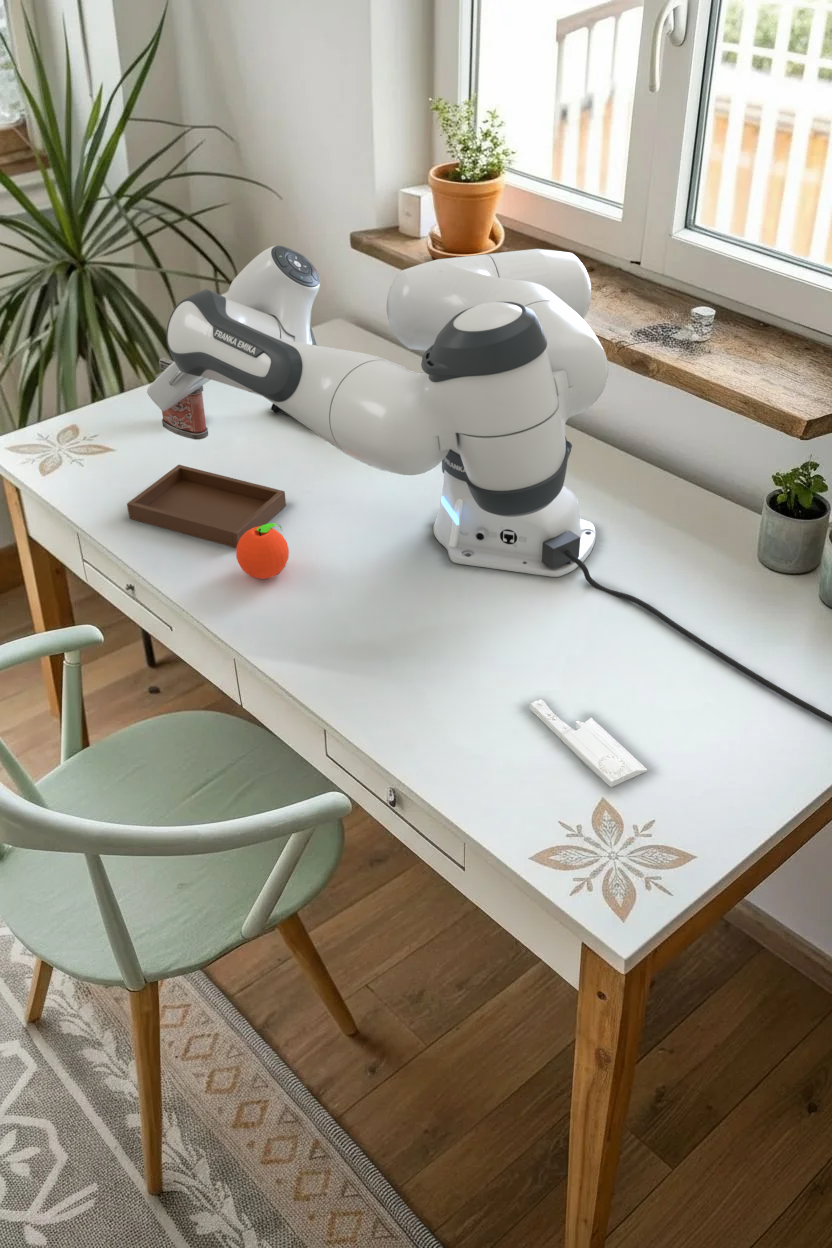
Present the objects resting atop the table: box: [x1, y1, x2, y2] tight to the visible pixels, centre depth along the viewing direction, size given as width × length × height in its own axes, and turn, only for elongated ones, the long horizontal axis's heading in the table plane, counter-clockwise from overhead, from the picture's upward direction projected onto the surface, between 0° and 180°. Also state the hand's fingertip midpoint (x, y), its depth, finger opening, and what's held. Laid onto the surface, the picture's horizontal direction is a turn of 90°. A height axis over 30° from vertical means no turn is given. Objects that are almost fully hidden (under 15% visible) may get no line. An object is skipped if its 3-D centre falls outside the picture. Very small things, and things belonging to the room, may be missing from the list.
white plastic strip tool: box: [529, 698, 648, 788], centre depth 134 cm, size 5×15×1 cm, turn 30°
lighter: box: [155, 357, 209, 441], centre depth 168 cm, size 8×3×10 cm, turn 51°
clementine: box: [235, 522, 290, 580], centre depth 160 cm, size 8×7×7 cm
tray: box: [126, 464, 287, 549], centre depth 174 cm, size 19×13×2 cm
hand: (178, 392), depth 168 cm, fingers closed on lighter, 3 cm apart
